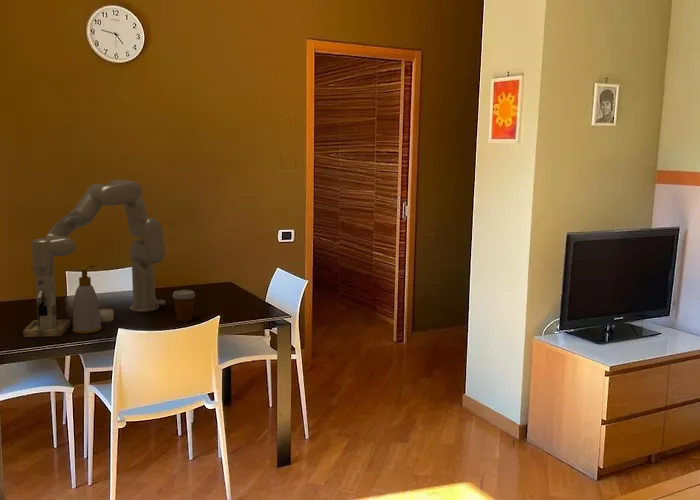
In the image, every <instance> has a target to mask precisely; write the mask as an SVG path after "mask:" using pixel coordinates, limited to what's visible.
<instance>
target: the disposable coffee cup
mask: <svg viewBox="0 0 700 500" xmlns="http://www.w3.org/2000/svg"><path fill="white" fill-rule="evenodd" d="M195 297H196V294H195V291H194V290H191V289H180V290H175V291H173V293H172V298H173V301H174V302H173V304H174V309H175V316H176V321H178V322H189V321H192V320H193V312H194V304H195V303H194V302H195Z"/></svg>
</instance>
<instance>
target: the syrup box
mask: <svg viewBox="0 0 700 500" xmlns="http://www.w3.org/2000/svg"><path fill="white" fill-rule="evenodd" d="M43 294H44V293H43ZM56 297H57V296H56V291H55V292H54V293H53V295H51V299H50V300H48V299H47V301H46V306H47V314H48V315H47V316H39V315H38V299H37V298H36V315H37V316H36V317H37V318H36V319H37V320H38V329H54V328H55V327H56V326H57V320H58V319H57V300H56Z"/></svg>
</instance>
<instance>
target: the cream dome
mask: <svg viewBox="0 0 700 500" xmlns="http://www.w3.org/2000/svg"><path fill="white" fill-rule="evenodd" d="M99 311H100V319H101V323H110V322H113V321H114V320H115V318H114V317H115V316H114V309H112V308H101V309H99Z"/></svg>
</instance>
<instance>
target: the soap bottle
mask: <svg viewBox="0 0 700 500" xmlns="http://www.w3.org/2000/svg"><path fill="white" fill-rule="evenodd" d="M88 268H94V265H92V264H91V265H90V264H89V265H88V264H85V265H80V266H79V267H78V268H77V269H76V271H77V272H81V276H79V278H78V287H77V288H76V291H75V293H74V300H73V309H72V325H73V326H72V332H73V333H74V334H80V335H87V334H88V333H89V334H95V333H97V332H100V331H101V330H102V329H103V328H102V327H103V326H102V325H101V324H102V322H101V319H100V311H99V310H100V306H99V300H98V297H97V294H96V291H95V289H94V286H93V285H92V282H91V276H88ZM94 332H95V333H94Z"/></svg>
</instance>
